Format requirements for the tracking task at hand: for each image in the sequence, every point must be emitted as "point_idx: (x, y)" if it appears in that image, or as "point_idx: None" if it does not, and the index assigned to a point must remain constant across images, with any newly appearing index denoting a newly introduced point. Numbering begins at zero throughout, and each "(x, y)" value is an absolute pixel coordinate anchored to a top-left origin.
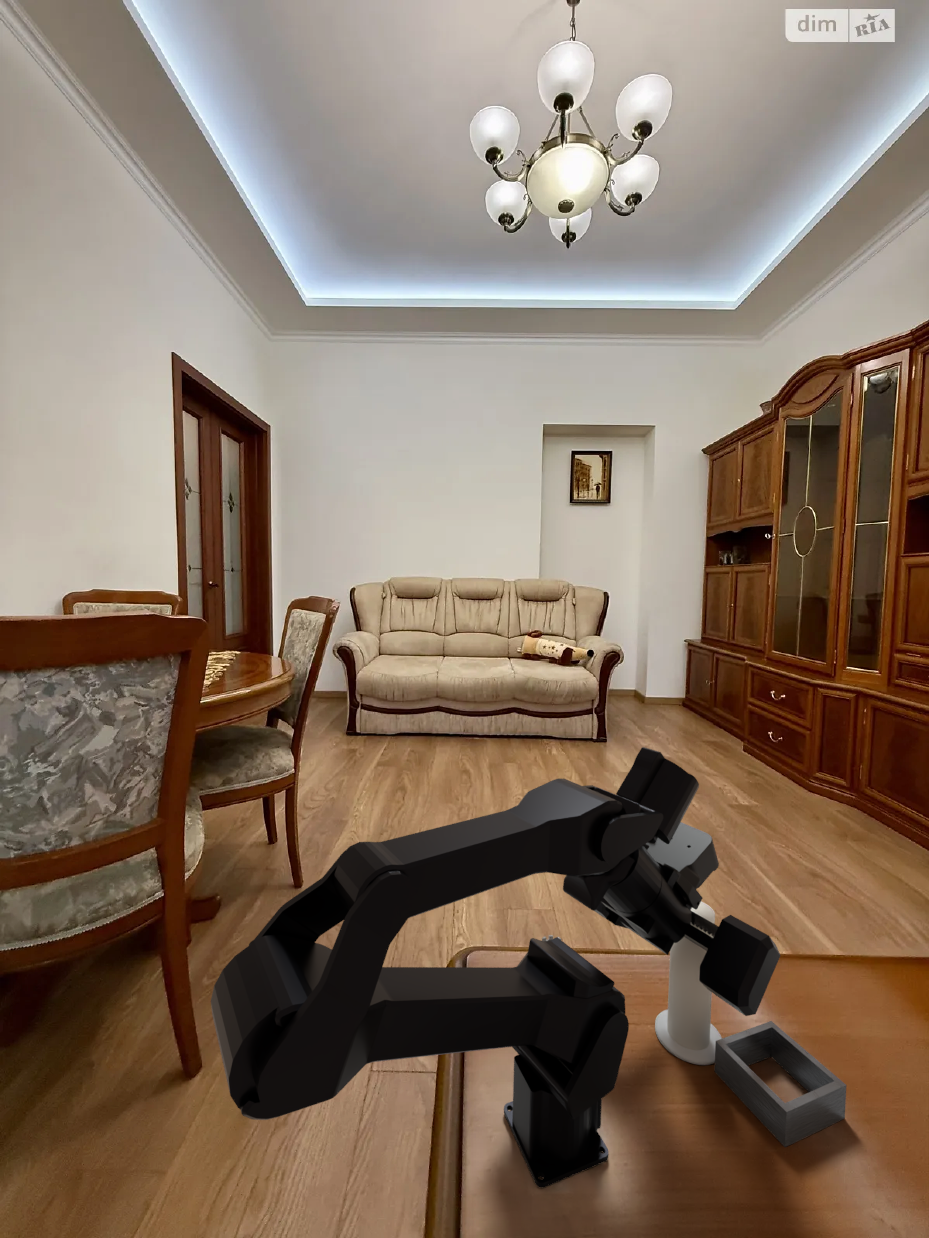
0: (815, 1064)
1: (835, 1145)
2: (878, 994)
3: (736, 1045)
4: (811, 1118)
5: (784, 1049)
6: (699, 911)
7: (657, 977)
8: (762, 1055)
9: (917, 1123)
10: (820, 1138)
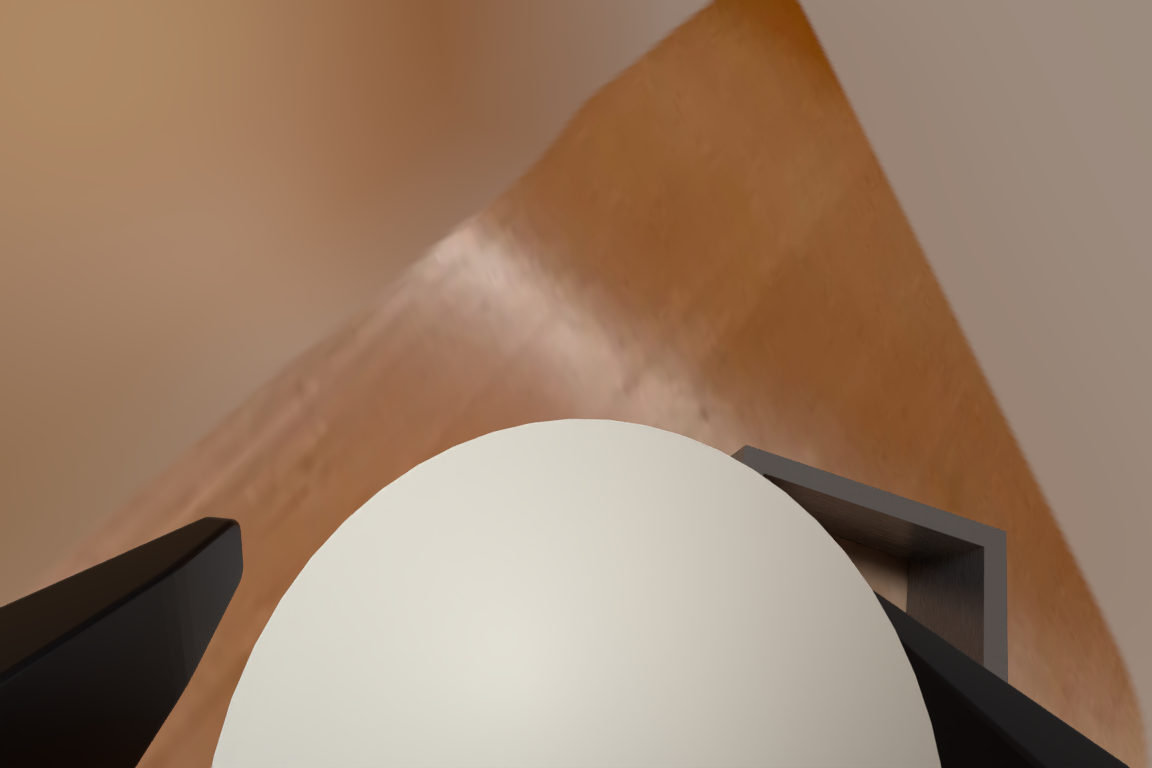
0: (919, 524)
1: None
2: (763, 72)
3: None
4: None
5: (791, 497)
6: (701, 732)
7: (293, 463)
8: None
9: (999, 412)
10: None
